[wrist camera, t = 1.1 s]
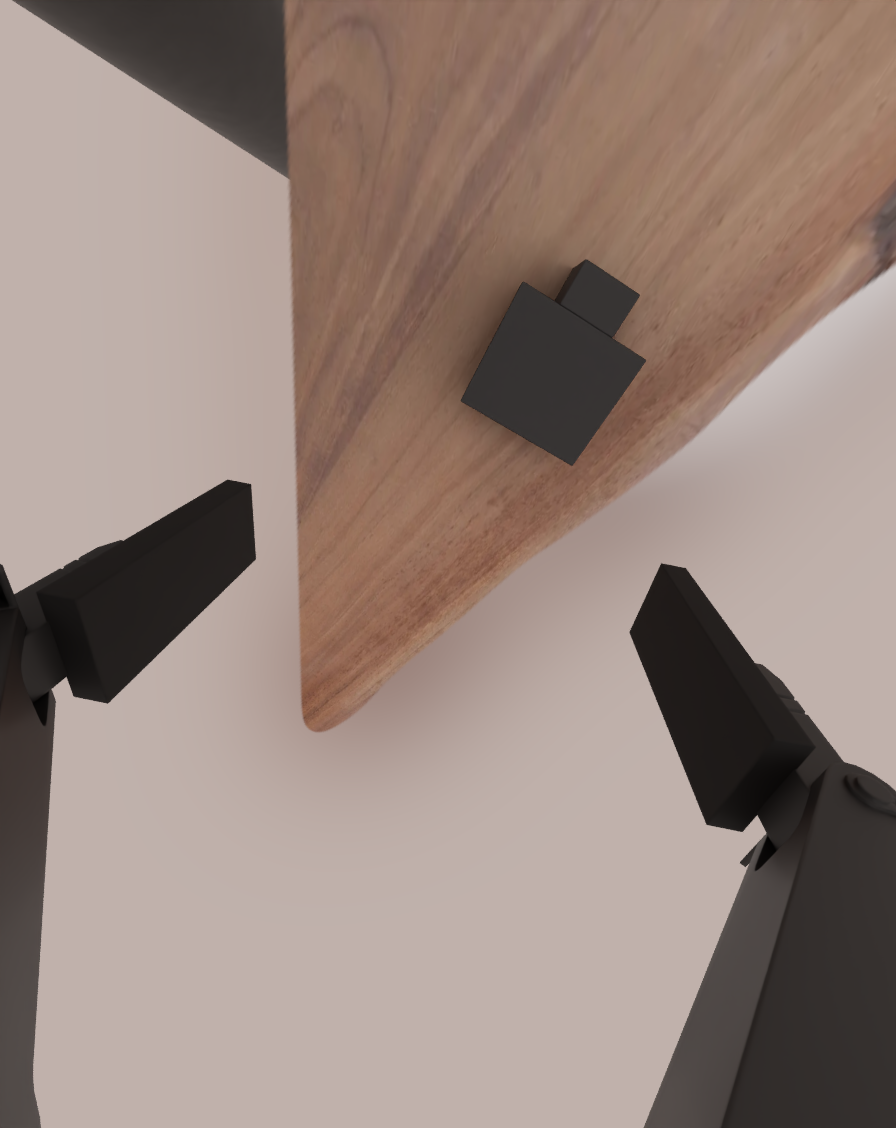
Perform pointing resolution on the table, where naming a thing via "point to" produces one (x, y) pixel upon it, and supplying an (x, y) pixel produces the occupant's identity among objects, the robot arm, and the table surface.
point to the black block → (558, 362)
